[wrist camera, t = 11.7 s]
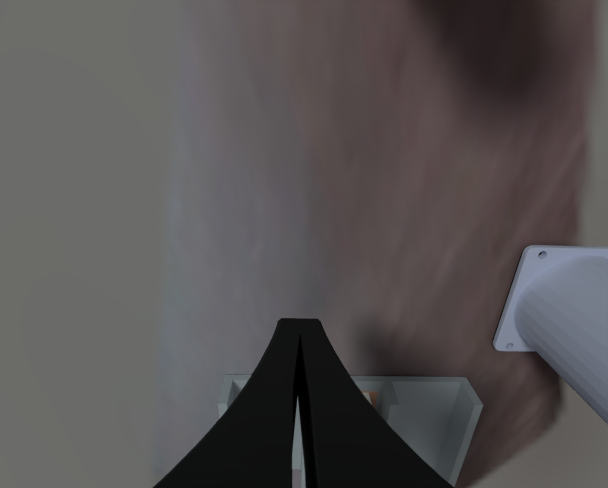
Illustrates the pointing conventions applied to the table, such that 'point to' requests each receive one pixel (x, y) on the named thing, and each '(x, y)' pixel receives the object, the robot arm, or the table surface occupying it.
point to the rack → (405, 416)
